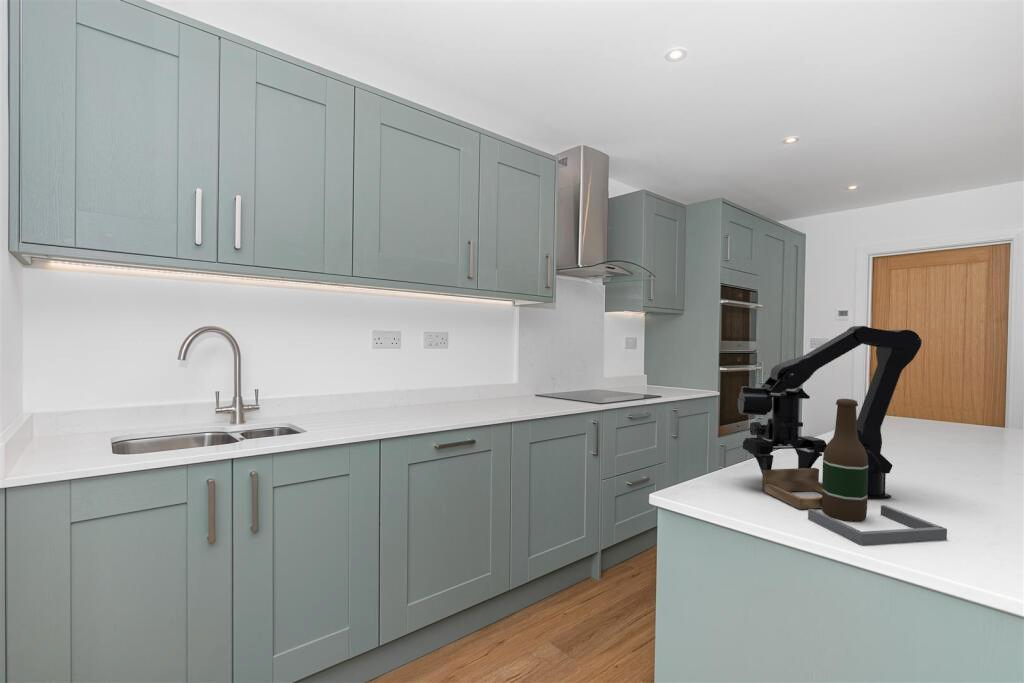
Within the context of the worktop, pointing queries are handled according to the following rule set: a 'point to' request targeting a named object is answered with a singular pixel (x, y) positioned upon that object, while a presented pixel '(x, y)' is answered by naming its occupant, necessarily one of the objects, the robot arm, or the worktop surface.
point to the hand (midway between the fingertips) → (783, 480)
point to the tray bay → (918, 533)
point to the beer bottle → (845, 468)
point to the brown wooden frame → (793, 485)
